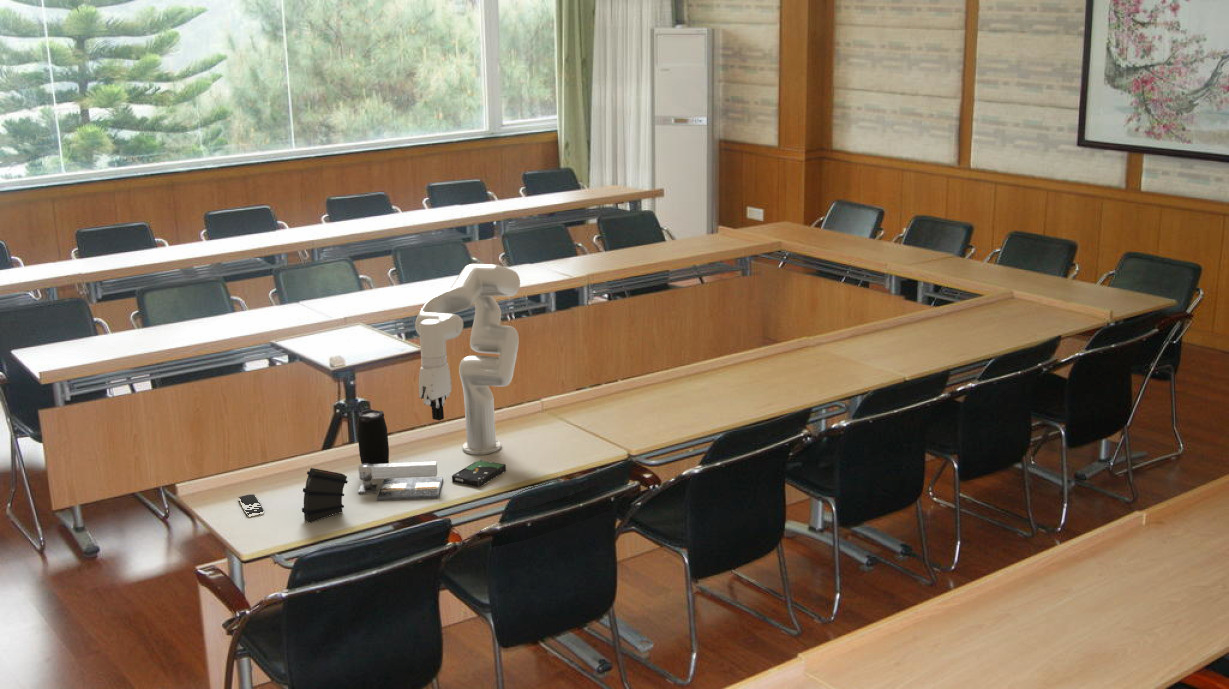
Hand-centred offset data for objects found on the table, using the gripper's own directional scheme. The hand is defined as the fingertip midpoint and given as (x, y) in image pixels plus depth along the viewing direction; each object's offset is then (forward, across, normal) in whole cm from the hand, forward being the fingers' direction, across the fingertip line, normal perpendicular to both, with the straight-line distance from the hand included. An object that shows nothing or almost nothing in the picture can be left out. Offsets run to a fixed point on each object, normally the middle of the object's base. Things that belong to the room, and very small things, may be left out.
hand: (438, 418), depth 361 cm
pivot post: (+21, +16, -16) cm, 31 cm away
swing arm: (+17, +10, -8) cm, 21 cm away
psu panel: (+21, +9, -5) cm, 23 cm away
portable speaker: (+21, +3, -25) cm, 33 cm away
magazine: (+21, +35, -14) cm, 43 cm away
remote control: (+22, +42, -38) cm, 60 cm away
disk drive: (+22, -10, +6) cm, 25 cm away
